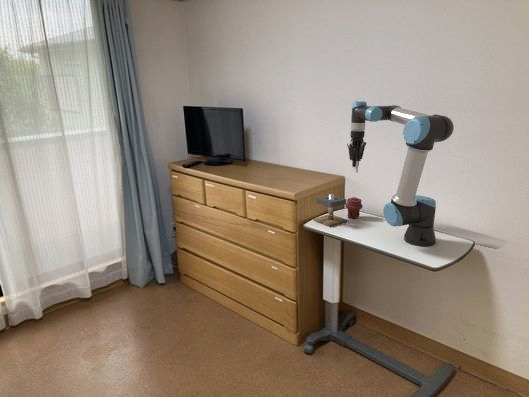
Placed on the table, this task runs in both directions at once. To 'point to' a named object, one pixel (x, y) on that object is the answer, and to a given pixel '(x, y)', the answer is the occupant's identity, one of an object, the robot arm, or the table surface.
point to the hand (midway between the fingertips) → (355, 172)
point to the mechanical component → (353, 207)
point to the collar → (331, 201)
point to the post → (330, 210)
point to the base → (330, 223)
